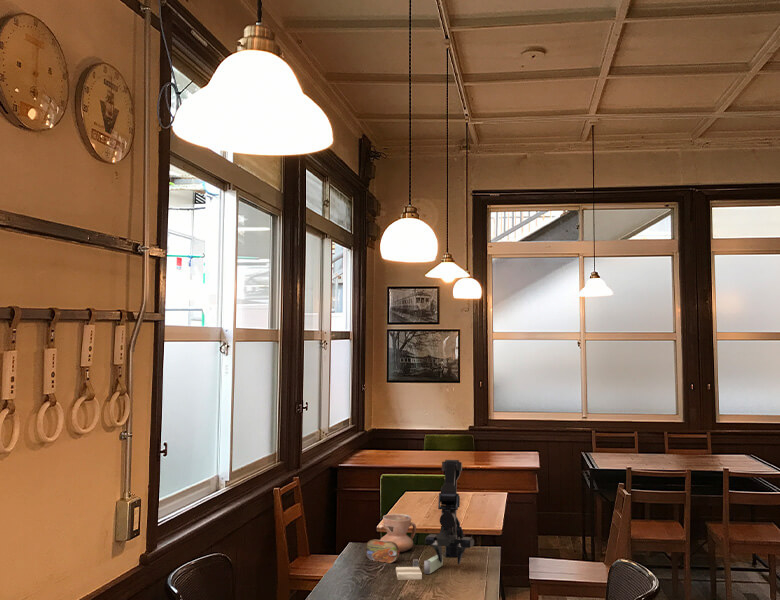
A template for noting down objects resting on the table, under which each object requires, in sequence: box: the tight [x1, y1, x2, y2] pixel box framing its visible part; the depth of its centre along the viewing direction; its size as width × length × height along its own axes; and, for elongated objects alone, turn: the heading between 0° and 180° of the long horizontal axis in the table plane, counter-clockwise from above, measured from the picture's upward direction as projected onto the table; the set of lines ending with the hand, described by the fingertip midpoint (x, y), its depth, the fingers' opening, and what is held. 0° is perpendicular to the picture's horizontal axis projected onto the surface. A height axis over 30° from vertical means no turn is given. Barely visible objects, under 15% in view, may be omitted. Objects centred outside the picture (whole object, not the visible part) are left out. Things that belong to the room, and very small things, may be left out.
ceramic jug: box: [378, 513, 417, 553], centre depth 305 cm, size 18×14×14 cm
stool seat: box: [395, 566, 423, 581], centre depth 269 cm, size 9×9×2 cm
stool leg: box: [423, 554, 444, 575], centre depth 276 cm, size 13×2×4 cm, turn 152°
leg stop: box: [412, 558, 420, 568], centre depth 279 cm, size 2×2×3 cm
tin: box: [364, 538, 400, 564], centre depth 288 cm, size 15×3×8 cm, turn 62°
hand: (449, 563), depth 275 cm, fingers open, 7 cm apart
